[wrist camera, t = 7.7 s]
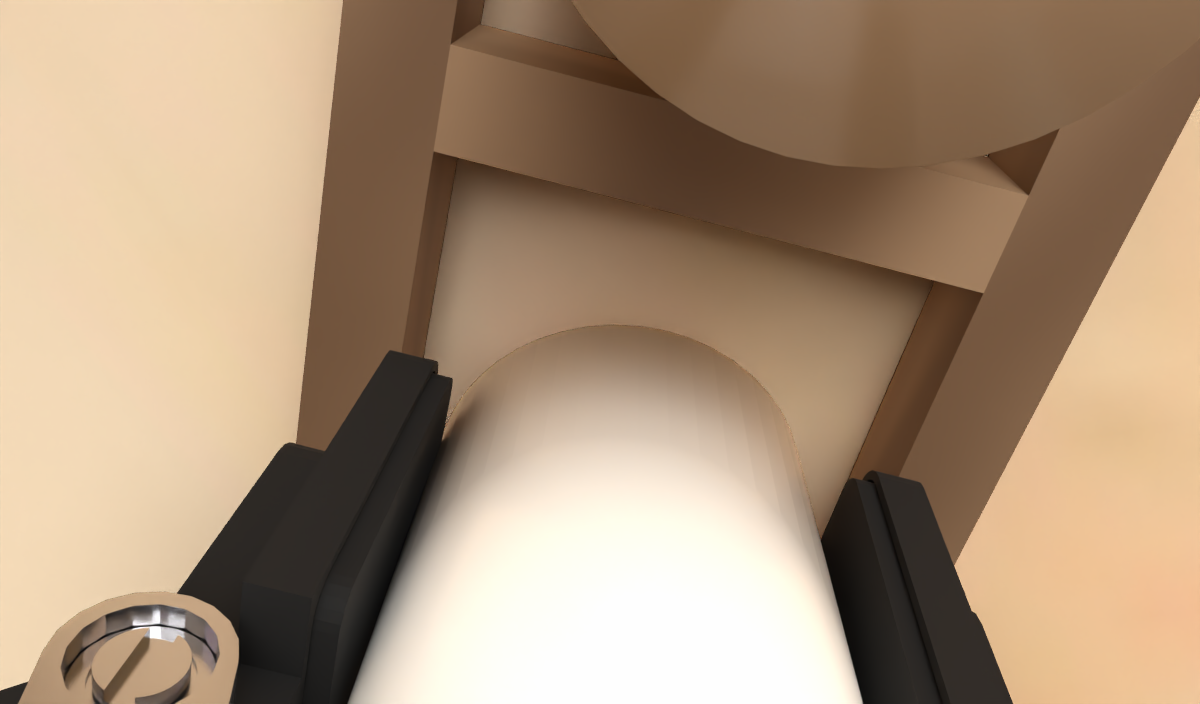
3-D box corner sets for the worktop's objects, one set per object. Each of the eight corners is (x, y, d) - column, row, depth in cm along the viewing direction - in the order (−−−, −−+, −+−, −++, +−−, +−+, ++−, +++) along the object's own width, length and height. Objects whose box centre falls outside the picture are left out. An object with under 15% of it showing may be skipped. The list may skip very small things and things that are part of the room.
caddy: (1481, -641, 8) (1643, -749, 7) (706, 951, 19) (707, 1036, 18) (500, -925, 8) (460, -1096, 7) (277, 849, 19) (245, 927, 18)
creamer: (852, 375, 11) (1097, 966, 5) (737, 655, 13) (813, 1311, 7) (353, 257, 10) (-18, 754, 5) (313, 565, 12) (22, 1184, 7)
